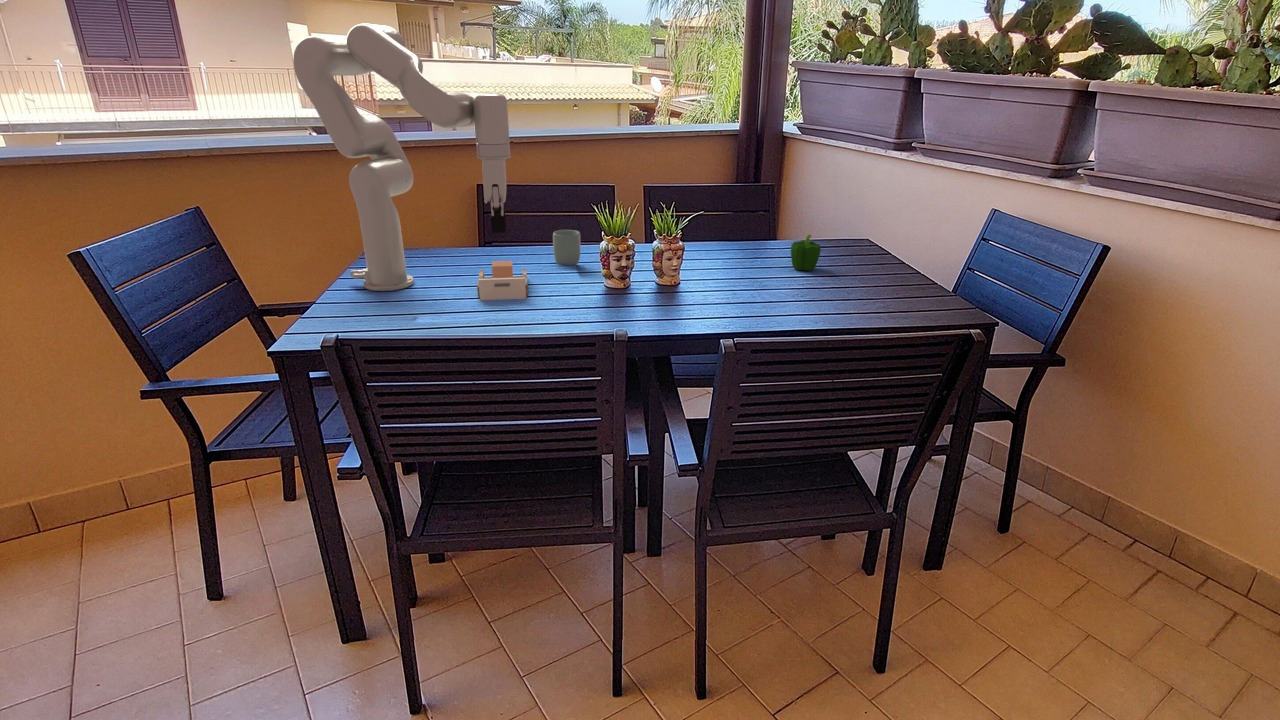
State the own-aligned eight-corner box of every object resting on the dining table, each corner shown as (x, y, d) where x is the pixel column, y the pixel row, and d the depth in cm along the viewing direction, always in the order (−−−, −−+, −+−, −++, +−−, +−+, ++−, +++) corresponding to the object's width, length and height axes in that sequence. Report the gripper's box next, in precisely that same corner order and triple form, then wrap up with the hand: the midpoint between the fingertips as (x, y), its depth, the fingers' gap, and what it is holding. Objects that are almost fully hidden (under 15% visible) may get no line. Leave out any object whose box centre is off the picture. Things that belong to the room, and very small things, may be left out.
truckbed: (481, 285, 173) (479, 269, 172) (527, 284, 175) (526, 268, 174) (478, 304, 160) (477, 286, 158) (528, 302, 162) (527, 285, 160)
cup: (576, 271, 188) (575, 236, 184) (550, 269, 189) (549, 234, 185) (583, 263, 195) (583, 230, 191) (558, 262, 196) (557, 228, 192)
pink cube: (493, 289, 166) (491, 266, 164) (494, 283, 170) (492, 261, 168) (513, 288, 167) (512, 266, 164) (513, 283, 171) (512, 260, 169)
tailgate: (480, 302, 160) (478, 278, 157) (526, 300, 162) (524, 277, 159) (480, 304, 159) (478, 280, 156) (526, 302, 160) (524, 278, 158)
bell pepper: (806, 274, 188) (811, 240, 184) (783, 268, 194) (787, 235, 190) (823, 269, 193) (828, 236, 189) (800, 263, 199) (804, 231, 195)
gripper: (478, 147, 157) (484, 223, 165) (474, 155, 142) (481, 238, 150) (510, 147, 159) (514, 222, 166) (510, 155, 144) (515, 238, 151)
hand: (499, 229), depth 158 cm, fingers open, 4 cm apart
